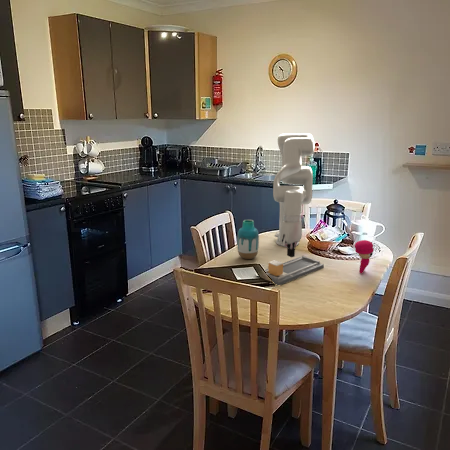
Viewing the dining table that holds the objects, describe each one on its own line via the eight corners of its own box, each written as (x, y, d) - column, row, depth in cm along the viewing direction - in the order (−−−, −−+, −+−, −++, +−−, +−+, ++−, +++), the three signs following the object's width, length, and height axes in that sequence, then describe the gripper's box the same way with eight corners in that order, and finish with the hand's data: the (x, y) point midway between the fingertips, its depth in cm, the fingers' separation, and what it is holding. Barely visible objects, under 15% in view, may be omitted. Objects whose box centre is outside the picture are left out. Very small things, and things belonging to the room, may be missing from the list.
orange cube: (274, 270, 193) (274, 259, 192) (282, 273, 190) (283, 263, 188) (268, 272, 191) (268, 262, 189) (276, 276, 187) (276, 265, 186)
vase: (235, 261, 211) (235, 223, 205) (239, 253, 221) (239, 217, 215) (257, 262, 209) (257, 224, 203) (259, 254, 219) (260, 218, 213)
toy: (372, 276, 191) (375, 244, 187) (353, 274, 193) (355, 243, 189) (370, 269, 199) (373, 238, 195) (351, 268, 201) (354, 237, 197)
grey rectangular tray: (300, 259, 212) (300, 254, 211) (323, 267, 202) (323, 262, 201) (255, 276, 192) (255, 270, 192) (278, 285, 182) (278, 279, 181)
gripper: (296, 212, 197) (295, 249, 203) (274, 219, 188) (273, 258, 194) (309, 216, 192) (307, 254, 198) (287, 223, 183) (286, 262, 188)
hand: (290, 256), depth 196 cm, fingers closed
